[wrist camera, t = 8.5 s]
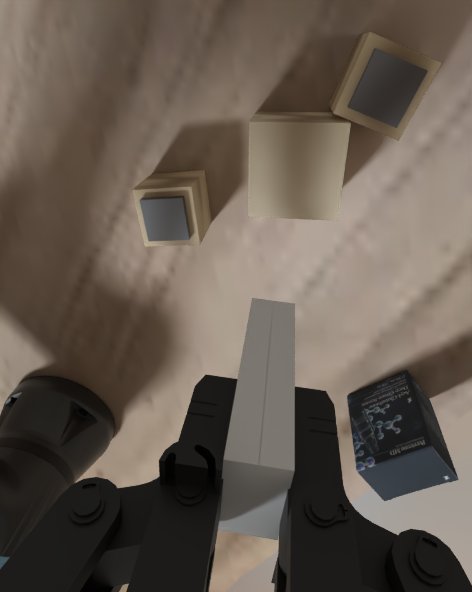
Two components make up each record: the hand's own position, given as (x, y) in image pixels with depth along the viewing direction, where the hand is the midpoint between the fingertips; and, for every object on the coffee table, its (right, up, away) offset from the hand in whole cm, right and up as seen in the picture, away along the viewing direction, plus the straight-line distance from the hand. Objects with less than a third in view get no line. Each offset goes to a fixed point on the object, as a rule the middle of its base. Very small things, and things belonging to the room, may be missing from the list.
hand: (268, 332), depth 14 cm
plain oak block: (+4, +14, +20) cm, 25 cm away
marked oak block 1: (+9, +18, +16) cm, 26 cm away
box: (+17, -11, +33) cm, 38 cm away
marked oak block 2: (-6, +11, +23) cm, 26 cm away
